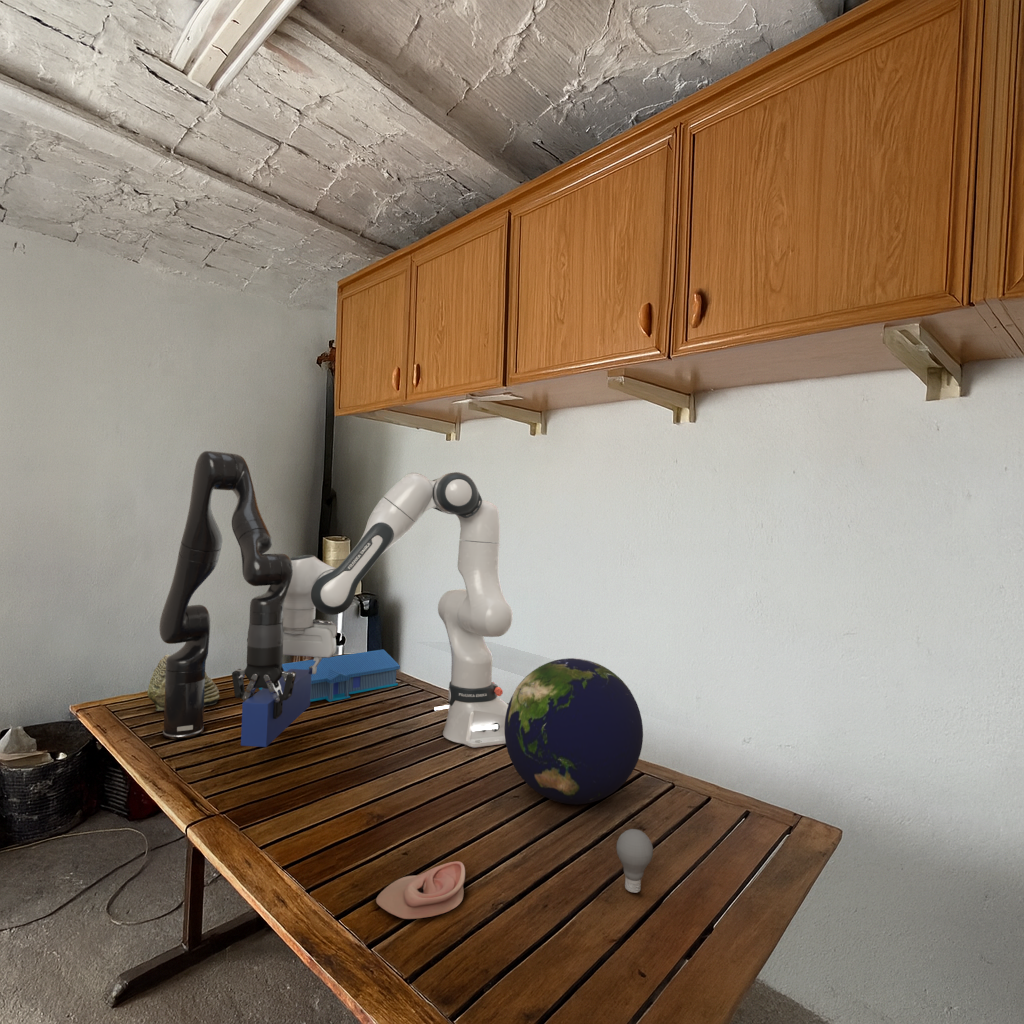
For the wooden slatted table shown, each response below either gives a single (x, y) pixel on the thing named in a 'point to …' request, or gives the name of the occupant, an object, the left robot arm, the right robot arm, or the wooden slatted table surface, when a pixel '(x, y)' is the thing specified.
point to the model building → (349, 674)
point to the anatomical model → (425, 892)
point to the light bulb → (634, 857)
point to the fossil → (158, 687)
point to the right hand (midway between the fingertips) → (294, 672)
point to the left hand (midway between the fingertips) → (262, 716)
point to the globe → (573, 731)
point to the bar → (261, 706)
